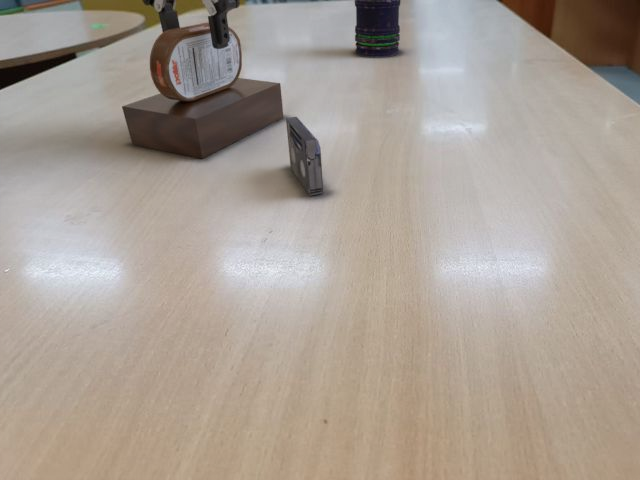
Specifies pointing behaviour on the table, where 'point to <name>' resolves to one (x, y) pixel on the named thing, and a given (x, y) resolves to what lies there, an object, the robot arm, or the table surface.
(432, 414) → the table surface
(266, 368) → the table surface
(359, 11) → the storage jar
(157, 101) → the block
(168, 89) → the tin
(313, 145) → the mini dv tape
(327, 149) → the table surface
